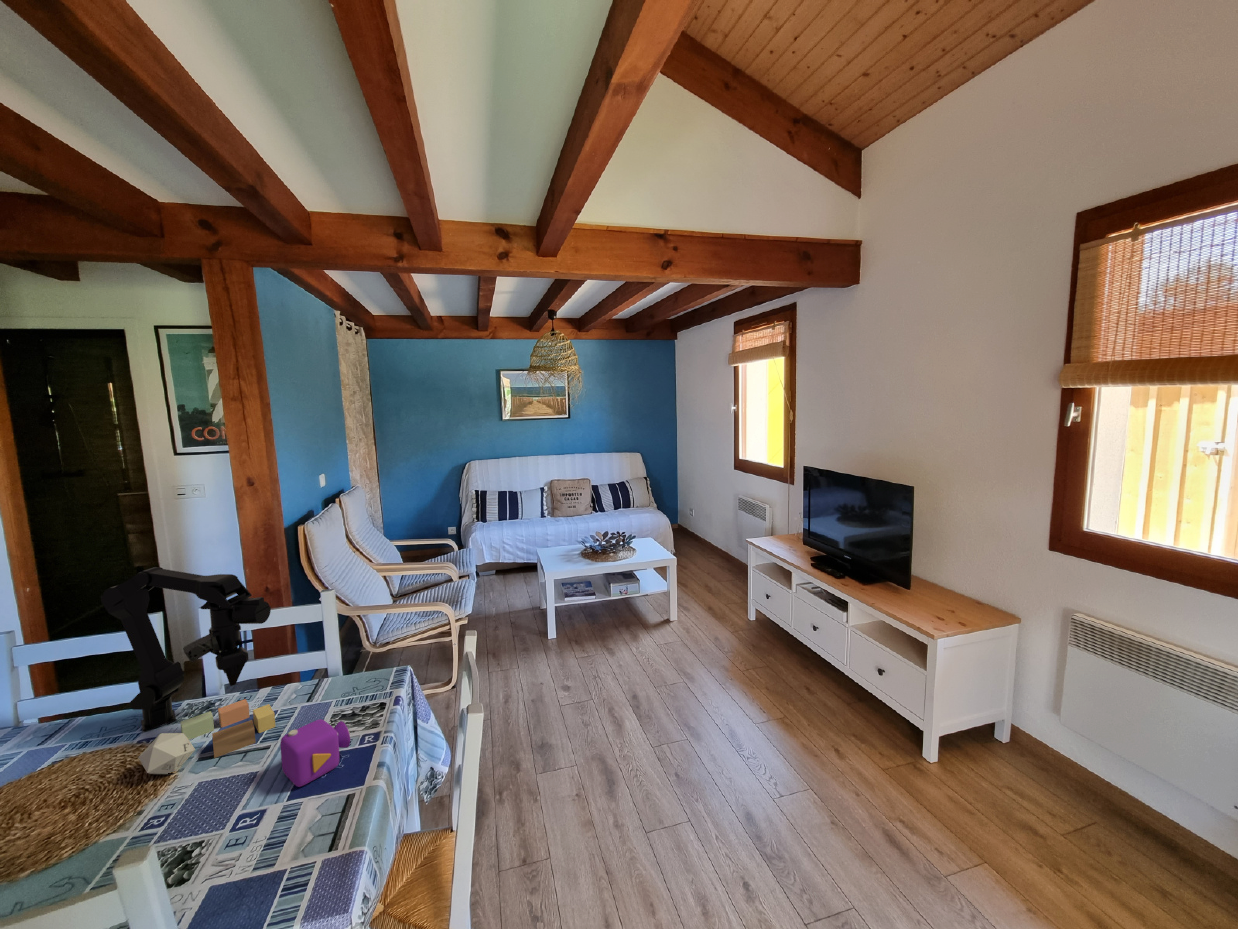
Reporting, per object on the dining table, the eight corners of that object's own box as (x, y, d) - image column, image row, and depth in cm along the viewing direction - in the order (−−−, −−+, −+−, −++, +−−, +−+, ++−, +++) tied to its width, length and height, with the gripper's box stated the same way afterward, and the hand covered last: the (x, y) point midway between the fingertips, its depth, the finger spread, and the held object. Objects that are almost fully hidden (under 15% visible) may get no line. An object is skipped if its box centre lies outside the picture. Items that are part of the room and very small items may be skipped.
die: (148, 793, 105) (181, 749, 107) (119, 769, 106) (152, 727, 109) (181, 778, 113) (211, 738, 116) (154, 757, 114) (184, 717, 117)
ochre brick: (259, 734, 124) (257, 719, 124) (253, 724, 128) (252, 710, 128) (275, 727, 127) (274, 713, 126) (270, 717, 131) (269, 704, 130)
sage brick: (181, 736, 123) (180, 721, 123) (211, 725, 128) (210, 711, 127) (183, 742, 121) (182, 727, 120) (214, 731, 125) (213, 716, 125)
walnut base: (213, 748, 119) (212, 733, 118) (253, 734, 124) (252, 719, 124) (214, 759, 115) (213, 743, 115) (255, 743, 120) (254, 729, 120)
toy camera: (360, 754, 116) (358, 716, 115) (303, 794, 104) (300, 751, 103) (331, 742, 121) (329, 704, 120) (274, 778, 108) (270, 737, 108)
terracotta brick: (219, 722, 129) (217, 708, 128) (246, 712, 133) (245, 699, 133) (221, 728, 126) (220, 714, 126) (249, 717, 131) (248, 704, 130)
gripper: (180, 622, 127) (185, 677, 129) (188, 645, 114) (194, 706, 116) (233, 610, 135) (237, 662, 137) (246, 630, 123) (251, 687, 124)
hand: (229, 678), depth 128 cm, fingers open, 9 cm apart
